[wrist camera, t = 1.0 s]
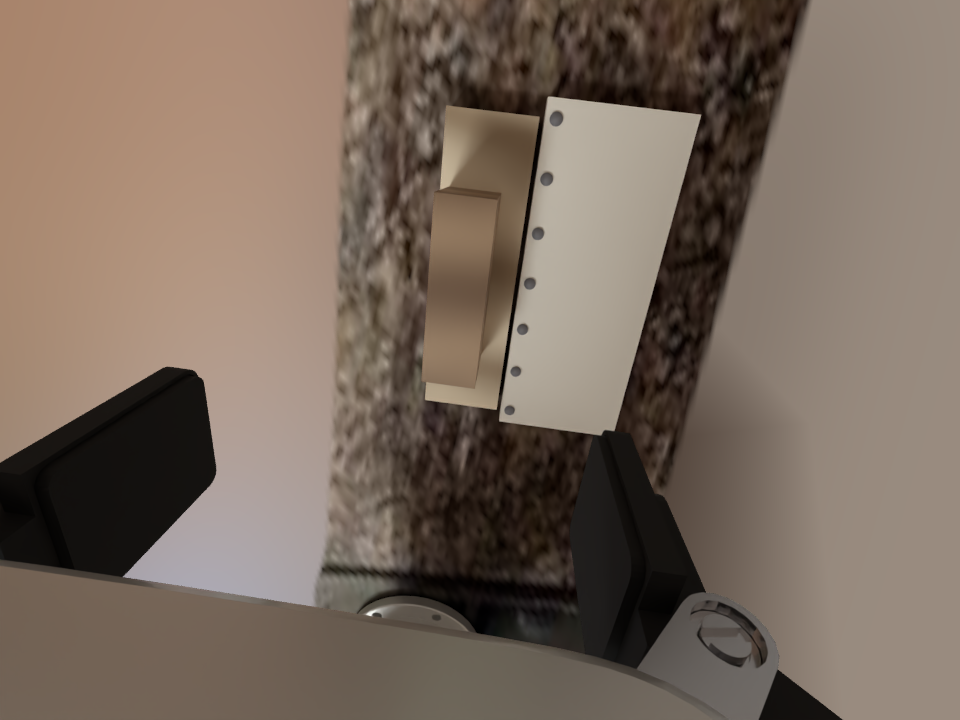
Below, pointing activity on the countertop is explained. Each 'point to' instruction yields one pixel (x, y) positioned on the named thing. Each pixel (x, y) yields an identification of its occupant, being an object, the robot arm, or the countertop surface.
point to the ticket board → (591, 259)
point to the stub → (475, 252)
